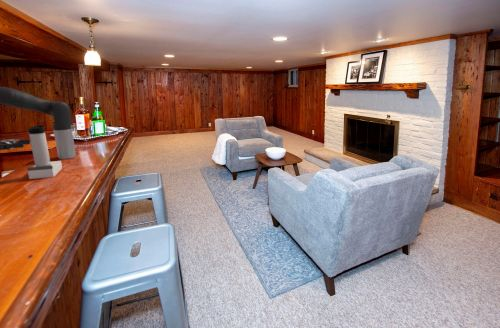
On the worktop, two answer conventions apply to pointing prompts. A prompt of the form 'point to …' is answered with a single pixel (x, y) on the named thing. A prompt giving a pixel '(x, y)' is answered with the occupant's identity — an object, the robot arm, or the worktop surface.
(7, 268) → the worktop surface
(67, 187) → the worktop surface
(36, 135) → the travel mug
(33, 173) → the dock
